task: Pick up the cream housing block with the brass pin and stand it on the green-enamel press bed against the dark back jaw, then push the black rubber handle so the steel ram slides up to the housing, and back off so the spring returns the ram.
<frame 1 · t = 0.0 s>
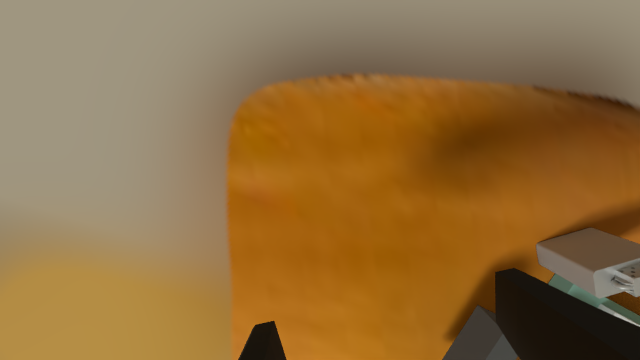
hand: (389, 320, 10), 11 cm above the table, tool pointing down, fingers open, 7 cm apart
lighter: (584, 239, 22), on the table
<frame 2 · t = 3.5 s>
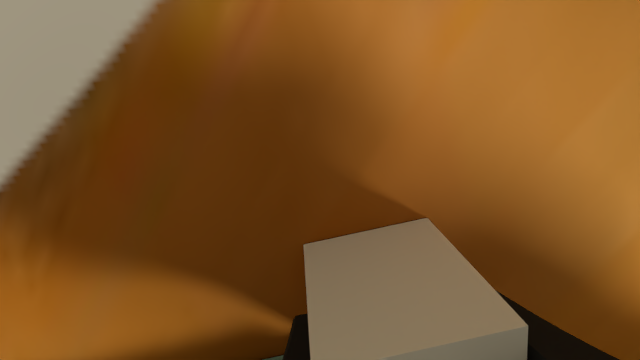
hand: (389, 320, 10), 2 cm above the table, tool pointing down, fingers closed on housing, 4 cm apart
housing: (374, 282, 12), on the table, touching gripper
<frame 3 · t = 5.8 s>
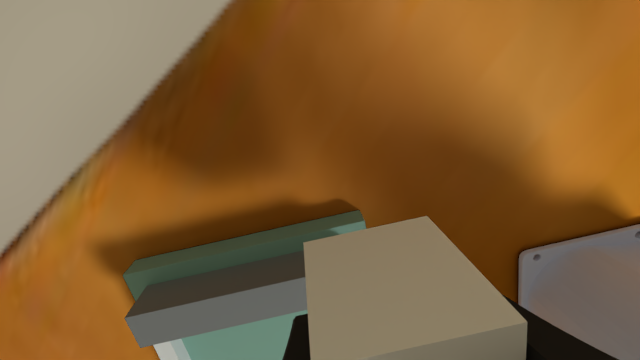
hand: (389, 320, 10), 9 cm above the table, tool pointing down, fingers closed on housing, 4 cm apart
housing: (373, 280, 12), point 7 cm above the table, touching gripper
press: (278, 328, 21), on the table
when the fingers open (4 cm above the table, at t = 8.1 s): housing stays where it is, resting on press.
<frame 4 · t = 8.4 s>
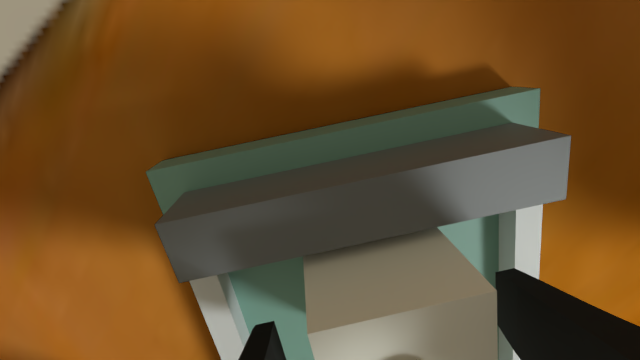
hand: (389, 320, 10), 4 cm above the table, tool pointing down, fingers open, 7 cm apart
housing: (367, 266, 13), point 1 cm above the table, touching press
press: (366, 279, 15), on the table
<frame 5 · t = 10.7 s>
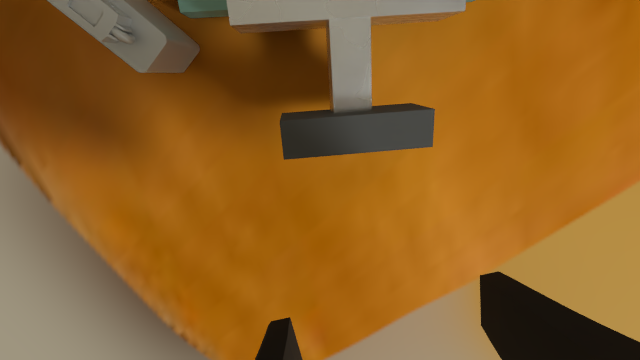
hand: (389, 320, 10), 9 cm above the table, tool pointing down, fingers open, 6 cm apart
lighter: (129, 8, 15), on the table
ram: (348, 60, 13), point 4 cm above the table, slide at 0.0 cm
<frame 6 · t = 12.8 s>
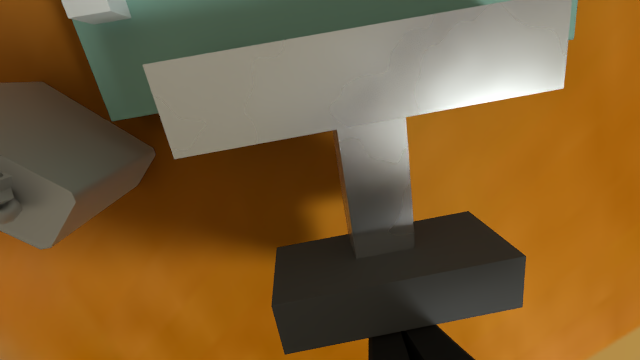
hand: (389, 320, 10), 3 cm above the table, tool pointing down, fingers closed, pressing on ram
lighter: (49, 110, 10), on the table
ram: (372, 176, 8), point 4 cm above the table, slide at 0.1 cm, touching gripper
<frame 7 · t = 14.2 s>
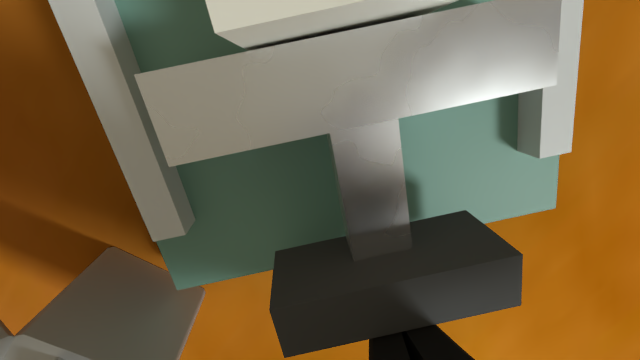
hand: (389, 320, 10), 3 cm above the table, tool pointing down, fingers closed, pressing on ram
lighter: (117, 264, 12), on the table
ram: (367, 177, 8), point 4 cm above the table, slide at 6.0 cm, touching gripper
press: (325, 28, 10), on the table
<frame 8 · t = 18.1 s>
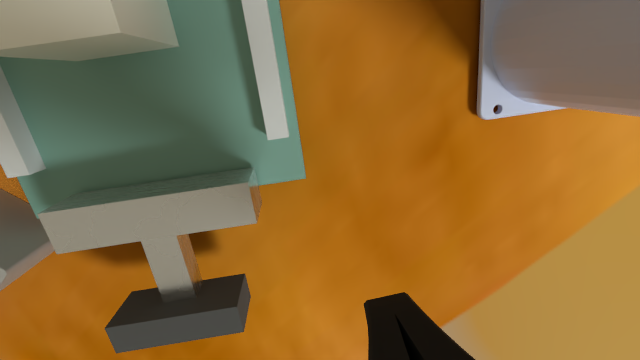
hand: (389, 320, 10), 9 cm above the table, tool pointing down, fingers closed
lighter: (4, 203, 17), on the table
ram: (172, 258, 15), point 4 cm above the table, slide at 0.1 cm
press: (140, 46, 15), on the table
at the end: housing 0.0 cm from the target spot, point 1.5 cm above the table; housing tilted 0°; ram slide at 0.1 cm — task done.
